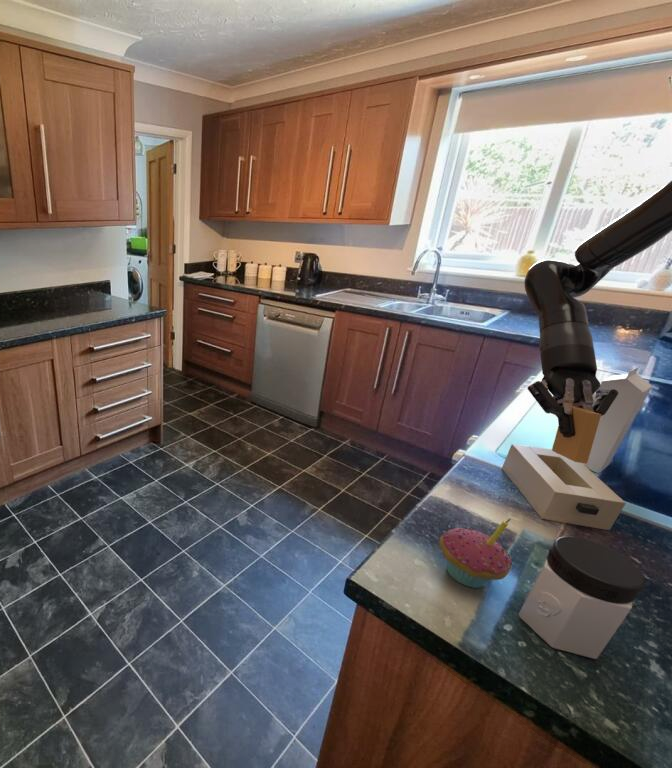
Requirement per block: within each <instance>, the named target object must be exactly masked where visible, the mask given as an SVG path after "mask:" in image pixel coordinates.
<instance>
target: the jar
mask: <svg viewBox="0 0 672 768" xmlns="http://www.w3.org/2000/svg"><path fill="white" fill-rule="evenodd" d="M645 586H646V577H645V575H644V573H643V572H642V570H641V569H640V568H639V567H638V566H637V565H636V564H635V563H634V562H633V561H631V559H629V558H627V557H626V556H624V555H623V554H621V553H620V552H618V551H616V550H615V549H613V548H611V547H609V546H607V545H604V544H602V543H600V542H597V541H594V540H591V539H588V538H584V537H580V536H573V535H572V536H571V535H565V536H559V537H558V538H556V539H555V540H554V542H553V543H552V546H551V548H550V549H549V550H548V553H547V555H546V557H545V559H544V561H543V563H542V564H541V567H540V568H539V570H538V572H537V574H536V576H535V578H534V580H533V581H532V583H531V586H530V588H529V589H528V591H527V593H526V595H525V597H524V599H523V602H522V604H521V607H520V609H519V612H518V614H517V615H518V618H520V620H522V621H523V622H524V623H525V624H526V625H527V626H528V627H529V628H530V629H532V631H533V632H534V633H536V634H537V636H538V637H540V638H541V639H542V640H543V641H544V642H545V643H546V644H547V645H548V646H550V648H552V649H556V650H559V651H563V652H567V653H571V654H574V655H577V656H581V657H585V658H589V659H592V660H598V658H599V656H600V655H601V654H602V652H603V651H604V649H605V648H606V647H607V645H608V644H609V642H610V641H611V640H612V638H613V636H614V635H615V633H616V632H617V631H618V629H619V627H620V626H621V625H622V624H623V622H624V620H625V619H626V618H627V616H628V615H629V613H630V612H631V610H632V609H633V602H634V601H635V600H636V598H637V597H638V595H639V594H640V593H641V591H642V590H643V589H644V587H645Z"/></svg>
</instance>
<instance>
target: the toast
mask: <svg viewBox="0 0 672 768" xmlns="http://www.w3.org/2000/svg"><path fill="white" fill-rule="evenodd" d="M571 415H573V417H574V425H575V435H574V436H572V437H569V438H567V437H563V434H561V433H560V431H559V425H558V426H557V430H556V434H555V437H554V441H553V444H552V448H551V449H552V451H554V452H556V453H558V454H560V455H562V456H564V457H566V458H568V459H570V460H572V461H574V462H579V463H586V464H587V462H588V459H589V455H590V452H591V448H592V445H593V441H594V438H595V434H596V431H597V427H598V424H599V420H600V417H601V414H599V413H595V412H592V411H589V410H585V409H582V408H579V407H575V406H572V414H571Z"/></svg>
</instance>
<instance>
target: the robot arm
mask: <svg viewBox="0 0 672 768" xmlns="http://www.w3.org/2000/svg"><path fill="white" fill-rule="evenodd" d="M671 232H672V180H670V181H669V182H668V183H667V184H665V185H664V186H662V187H661V188H660V189H659V190H657V191H656V192H654V193H653V194H652V195H650V196H649V197H647V198H646V199H645V200H643V201H642V202H640V203H639V204H637V205H636V206H634V207H633V208H631V209H630V210H628V211H627V212H625V213H624V214H622V215H621V216H619V217H618V218H616V219H614V220H613V221H612V222H610V223H609V224H607V225H606V226H605V227H602V228H601V229H600V230H598V231H597V232H595V233H594V234H592V235H591V236H589V237H588V238H586V239H585V240H584V241H582V242H581V243H580V244H578V245H577V247H576V248H575V250H574V257H575V261H576V262H577V263H576V264H573V263H569V262H565V261H561V260H556V259H542V260H540V261H537V262H536V263H534V264H533V265H532V266H530V268H529V269H528V270H527V272H526V274H525V277H524V291H525V293H526V296H527V297H528V299H529V302H530V304H531V306H532V308H533V310H534V311H535V313H536V315H537V318H538V320H537V321H538V328H539V343H538V344H539V355H540V365H541V372H542V375H543V376H542V379H541V381H540V380H537V381H534V382H533V383H532V384H530V385H528V386H527V390H528V392H529V393H530V395H532V397H533V398H534V400H535V401H536V402H537V404H538V405H539V406H540V407H541V409H542V410H543V411H544V413H546V414H550V415H551V414H552V415H554V416H556V417H557V422H558V426H559V431H560V433H561V434H563V437H567V438H569V437H572V436H574V435H575V425H574V417H573V415H571V414H572V406H575V407H579V408H582V409H585V410H589V411H592V412H595V413H599V414H601V416H603V415H605V414H606V412H607V411H608V409H609V407H610V406H611V404H612V403H613V401H614V400H615V398H616V397H617V395H618V391H617V390H614V389H612V390H610V391H609V390H607V389H606V388H604V387H602V386H600V384H601V382H600V381H599V379H598V378H597V371H598V365H597V358H596V352H595V347H594V339H593V335H592V333H591V330H590V327H589V319H588V313H587V309H586V306H585V304H584V303H582V301H580V300H578V299H577V298H580V297H581V296H582V297H583V296H584V295H585V294H587V293H588V292H589V291H591V290H592V289H593V287H595V286H596V285H598V283H599V282H600V281H602V280H603V279H604V278H605V277H606V276H607V275H608V274H609V273H610V272H611V271H612V270H613V269H614V268H616V267H619V266H620V265H621V264H623V263H625V262H627V261H628V260H630V259H632V258H633V257H635V256H637V255H639V254H640V253H642V252H643V251H645V250H647V249H649V248H650V247H652V246H653V245H655V244H657V243H658V242H660V241H661V240H662V239H663V238H665V237H666V236H668V235H669V234H670V233H671ZM595 392H596V397H595V399H597V401H596V402H595V404H594V405H593V403H594V401H593V396H592V395H593V394H594V393H595ZM592 405H593V407H592Z"/></svg>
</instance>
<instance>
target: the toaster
mask: <svg viewBox="0 0 672 768" xmlns="http://www.w3.org/2000/svg"><path fill="white" fill-rule="evenodd" d="M501 470H503V472H504V473H505V474H506V476H507V477H508V478H509V480H511V482H512V483H513V484H514V486H515V487H516V489H518V491H519V492H520V493H521V495H522V496H523V497H524V498H525V500H526V501H527V502H528V503H529V505H530V506H531V507H532V509H533V510H534V511H535V512H536V513H537V515H538V516H539V518H540V519H542V520H546V521H552V522H557V523H558V522H559V523H564V524H570V525H575V526H582V527H587V528H593V529H599V530H605V531H610V530H611V529H612V527H613V526H614V524H615V522H616V520H617V519H618V517H619V515H620V514H621V512H622V511H623V509H624V507H625V506H626V502H625V501H624V500H623V499H622V498H621V497H620V496H619V495H617V493H615V491H613V489H611V488H610V487H609V486H608V485H607V484H605V483H604V481H602V480H601V479H600V478H599V477H598V476H597V475H596V474H595V473H593V471H592V470H589V469H588V468H587V467H586V466H584V465H583V464H582V463H579V462H574V461H572V460H570V459H568V458H566V457H564V456H562V455H560V454H558V453H556V452H554V451H552V448H551V449H550V448H544V447H537V446H531V445H521V444H515V443H512V444H511V445H510V447H509V450H508V452H507V455H506V457H505V459H504V462H503V464H502V466H501Z"/></svg>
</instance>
